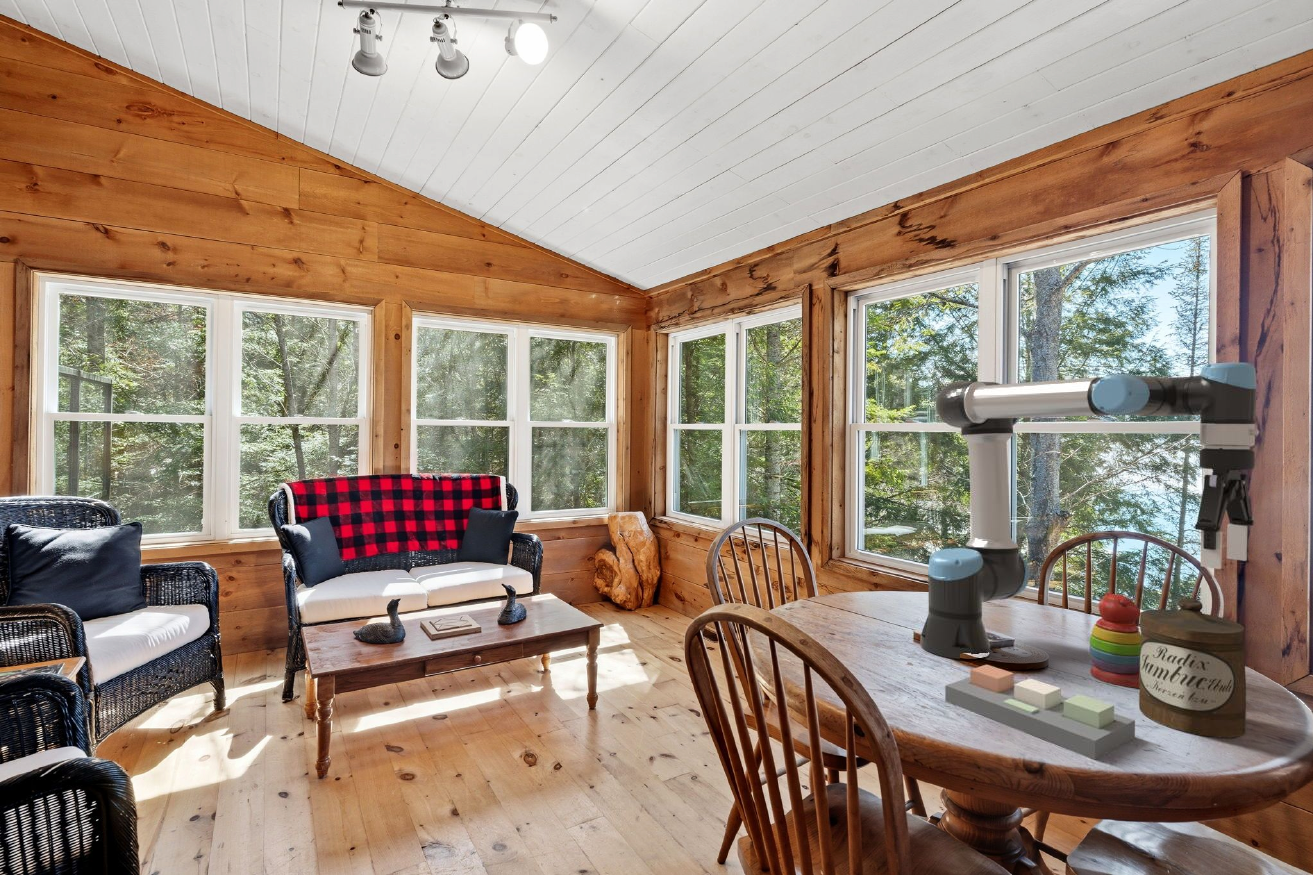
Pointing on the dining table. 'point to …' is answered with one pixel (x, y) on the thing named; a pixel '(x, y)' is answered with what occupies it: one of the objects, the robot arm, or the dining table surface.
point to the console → (1041, 719)
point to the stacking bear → (1116, 642)
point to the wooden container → (1193, 671)
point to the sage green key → (1089, 711)
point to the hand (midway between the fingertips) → (1224, 563)
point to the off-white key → (1037, 694)
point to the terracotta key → (992, 678)
